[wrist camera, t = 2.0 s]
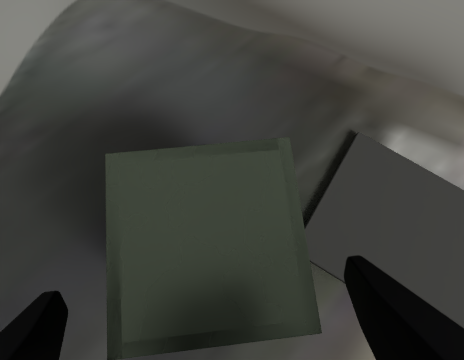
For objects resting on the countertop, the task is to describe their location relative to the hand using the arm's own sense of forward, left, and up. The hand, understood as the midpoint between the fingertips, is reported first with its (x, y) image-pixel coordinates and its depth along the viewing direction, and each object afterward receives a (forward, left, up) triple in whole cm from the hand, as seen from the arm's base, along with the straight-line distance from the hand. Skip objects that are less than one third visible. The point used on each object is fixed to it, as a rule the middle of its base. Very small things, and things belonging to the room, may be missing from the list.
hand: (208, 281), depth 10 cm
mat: (-9, -8, -9) cm, 15 cm away
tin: (+1, -1, -9) cm, 9 cm away
